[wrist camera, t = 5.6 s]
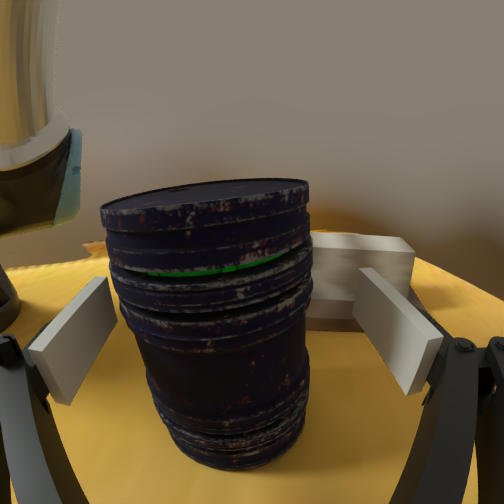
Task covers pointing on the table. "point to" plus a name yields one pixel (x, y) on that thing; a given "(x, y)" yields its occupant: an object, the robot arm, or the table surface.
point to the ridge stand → (353, 275)
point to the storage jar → (219, 311)
